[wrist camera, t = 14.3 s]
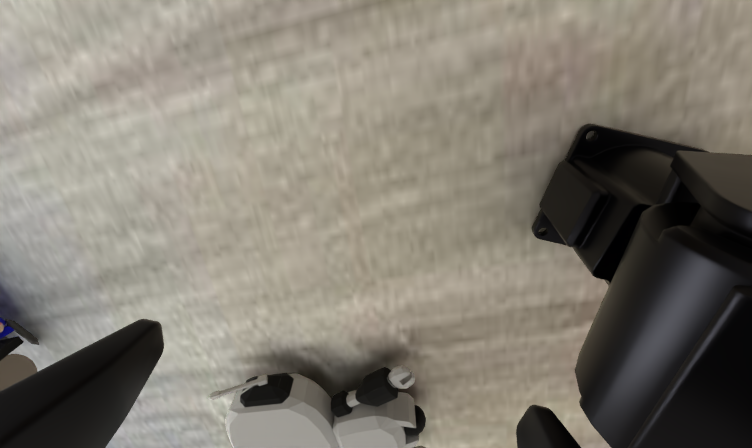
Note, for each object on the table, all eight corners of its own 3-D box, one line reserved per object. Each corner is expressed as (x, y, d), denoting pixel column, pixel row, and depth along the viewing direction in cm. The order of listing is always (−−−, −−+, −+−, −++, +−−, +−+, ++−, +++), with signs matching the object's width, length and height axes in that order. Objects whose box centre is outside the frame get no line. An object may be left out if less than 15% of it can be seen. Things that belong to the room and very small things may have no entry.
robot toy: (411, 330, 26) (222, 353, 28) (416, 383, 22) (194, 407, 24) (430, 431, 32) (271, 445, 33) (437, 488, 28) (256, 501, 29)
